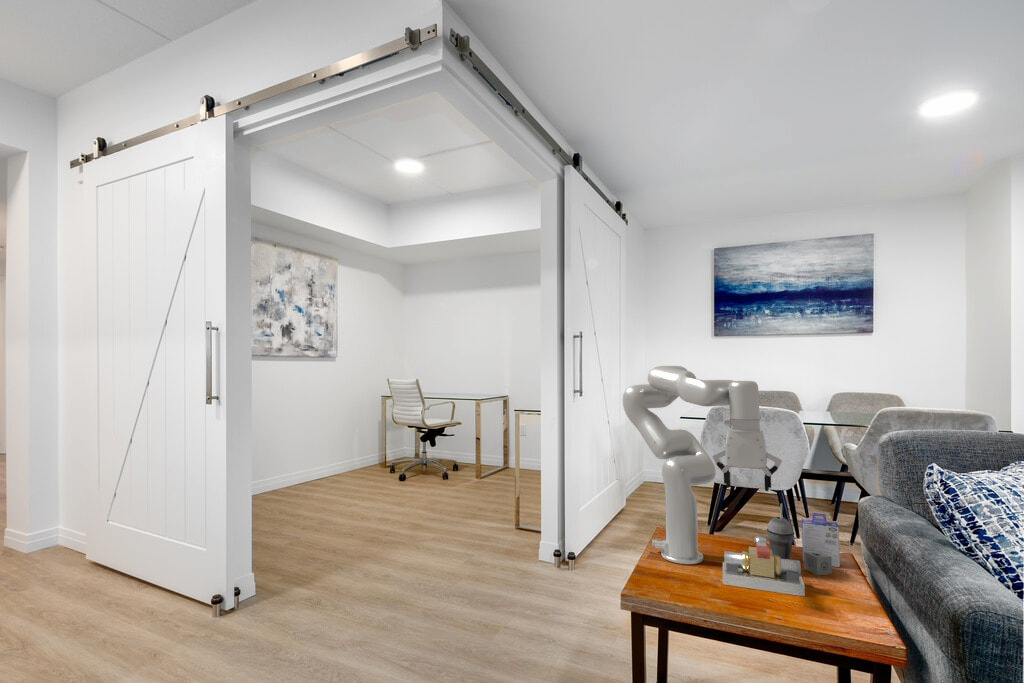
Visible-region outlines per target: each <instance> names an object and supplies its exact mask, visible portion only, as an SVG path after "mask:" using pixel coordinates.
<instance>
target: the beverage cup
mask: <svg viewBox="0 0 1024 683" xmlns="http://www.w3.org/2000/svg"><path fill="white" fill-rule="evenodd" d="M779 508H780V512H779V513H780V516H776V517H772V518H771V519H770V520H769V522H768V523H767V527H766V528H767V529H766V531H767V537H768V540H769V549H772V551H773V555H776V556H780V558H781V559H789V560H792V552H793V551H792V550H793V541H794V535H795V531H794V530H795V529H794V527H793V525H792V523H791V522H790V521H789V520H788V519H786V518H785V517H783V503H780V507H779Z"/></svg>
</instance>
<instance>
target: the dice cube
mask: <svg viewBox="0 0 1024 683" xmlns="http://www.w3.org/2000/svg"><path fill="white" fill-rule="evenodd" d="M803 568H804V570H807V571H808V572H810V573H812V574H813V575H816V576H822V575H832V574H833V566H832V557H831V556H829V555H827V554H825V553H823V552H820V551H806V552H804V562H803Z"/></svg>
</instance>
